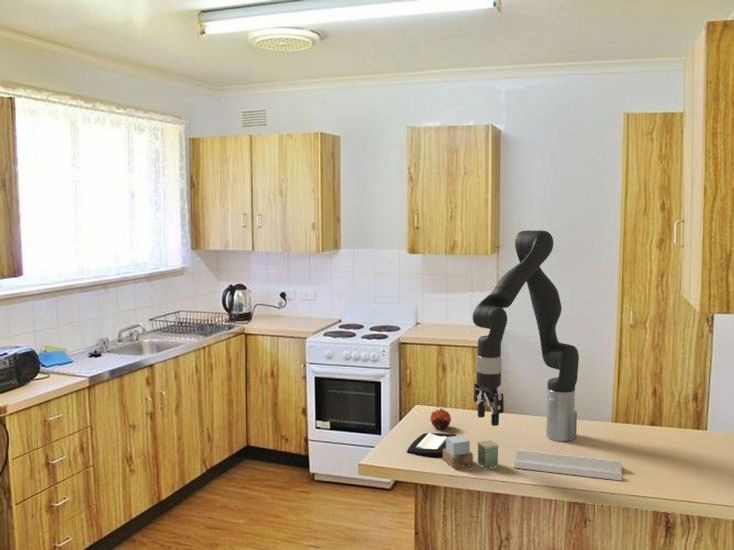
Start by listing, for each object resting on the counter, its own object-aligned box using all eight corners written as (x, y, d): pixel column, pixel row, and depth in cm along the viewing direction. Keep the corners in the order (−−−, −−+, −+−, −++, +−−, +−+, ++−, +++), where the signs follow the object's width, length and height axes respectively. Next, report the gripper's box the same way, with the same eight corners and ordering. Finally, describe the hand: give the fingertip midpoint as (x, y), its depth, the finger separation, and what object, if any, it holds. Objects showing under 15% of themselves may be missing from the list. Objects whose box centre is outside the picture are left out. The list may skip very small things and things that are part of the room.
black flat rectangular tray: (421, 429, 233) (459, 431, 227) (422, 437, 233) (460, 439, 228) (402, 448, 215) (443, 450, 209) (403, 457, 215) (444, 459, 209)
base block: (462, 458, 211) (462, 446, 210) (472, 466, 204) (472, 453, 204) (442, 461, 209) (442, 449, 208) (452, 469, 202) (452, 457, 202)
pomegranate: (450, 437, 235) (455, 414, 242) (445, 425, 231) (450, 402, 238) (431, 436, 238) (436, 414, 245) (425, 425, 234) (430, 402, 241)
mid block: (461, 447, 210) (461, 435, 209) (469, 453, 204) (469, 441, 204) (445, 449, 208) (445, 437, 207) (453, 455, 203) (453, 443, 202)
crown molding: (513, 470, 202) (514, 459, 202) (518, 456, 213) (518, 445, 213) (622, 483, 192) (622, 471, 191) (620, 467, 203) (620, 456, 203)
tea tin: (490, 461, 207) (490, 440, 207) (498, 467, 203) (498, 445, 202) (477, 463, 206) (477, 442, 205) (484, 469, 201) (485, 447, 201)
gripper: (511, 374, 196) (510, 427, 197) (487, 363, 209) (487, 413, 211) (489, 376, 193) (488, 429, 195) (467, 365, 207) (466, 415, 208)
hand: (487, 421), depth 203 cm, fingers open, 8 cm apart
